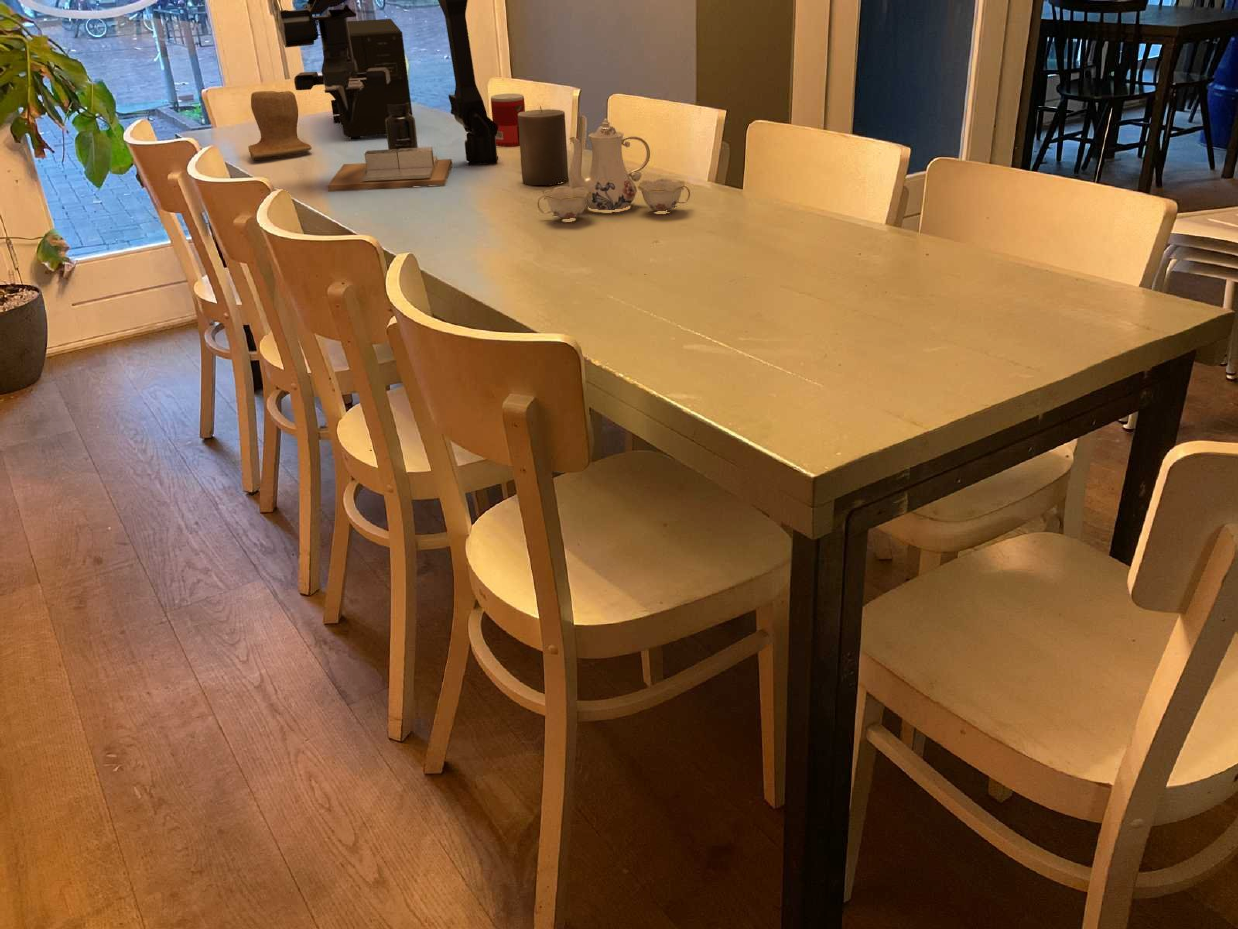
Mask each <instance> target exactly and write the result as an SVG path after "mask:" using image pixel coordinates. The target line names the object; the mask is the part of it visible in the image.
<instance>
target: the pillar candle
mask: <svg viewBox="0 0 1238 929" xmlns="http://www.w3.org/2000/svg"><path fill="white" fill-rule="evenodd" d="M518 125H519V140H520V146H519V151H520V153H519V154H520V167H521V169H520V170H521V180H522V183H523V184H524V183H525V185H530V186H533V185H549V186H556V185H555V184H558V183H561V182H565V183H567V182H569V165H568V150H567V149H568V147H567V129H566V113H565V111H564V110H561V109H556V108H555V109H551V108H550V109H549V108H548V109H542V106H539V109H533V110H525V111H524V112H519V113H518ZM558 185H559V184H558Z"/></svg>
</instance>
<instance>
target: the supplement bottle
mask: <svg viewBox="0 0 1238 929" xmlns="http://www.w3.org/2000/svg"><path fill="white" fill-rule="evenodd" d="M409 111H410V109H409V103H408V102H391V103H388V112H389V115H388V116H387V117H386V119H385V125H386V134H387V135H386V140H387V148H388V149H387V150H391V149H403V148H419V146H418V145H419V144H418V136H417V127H416V126H417V125H416V120H415V117H414V115H413V114H412V115H413V116H412V115H411V114H409Z"/></svg>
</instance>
